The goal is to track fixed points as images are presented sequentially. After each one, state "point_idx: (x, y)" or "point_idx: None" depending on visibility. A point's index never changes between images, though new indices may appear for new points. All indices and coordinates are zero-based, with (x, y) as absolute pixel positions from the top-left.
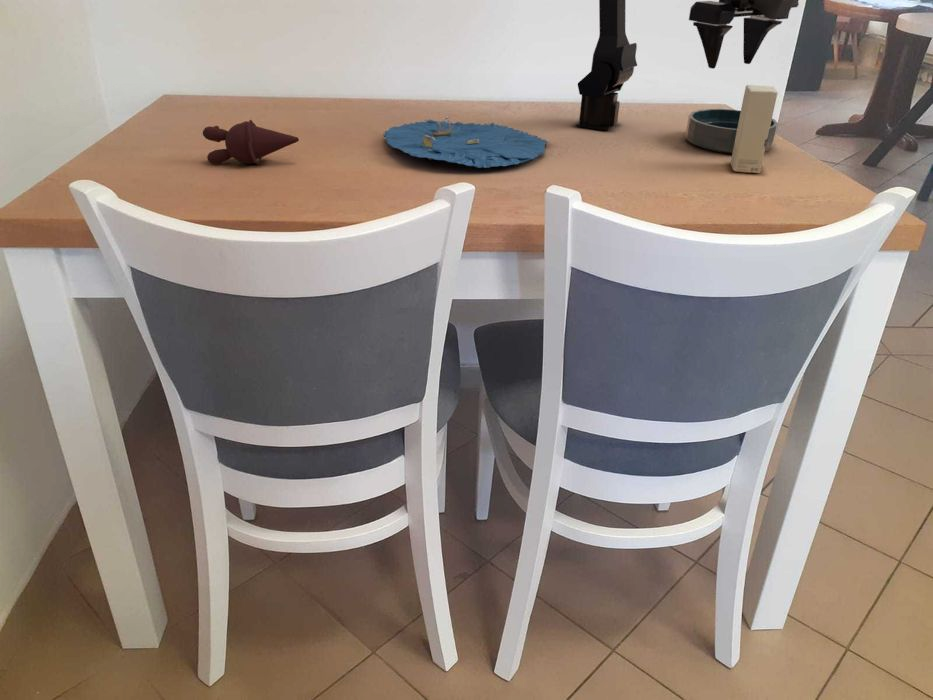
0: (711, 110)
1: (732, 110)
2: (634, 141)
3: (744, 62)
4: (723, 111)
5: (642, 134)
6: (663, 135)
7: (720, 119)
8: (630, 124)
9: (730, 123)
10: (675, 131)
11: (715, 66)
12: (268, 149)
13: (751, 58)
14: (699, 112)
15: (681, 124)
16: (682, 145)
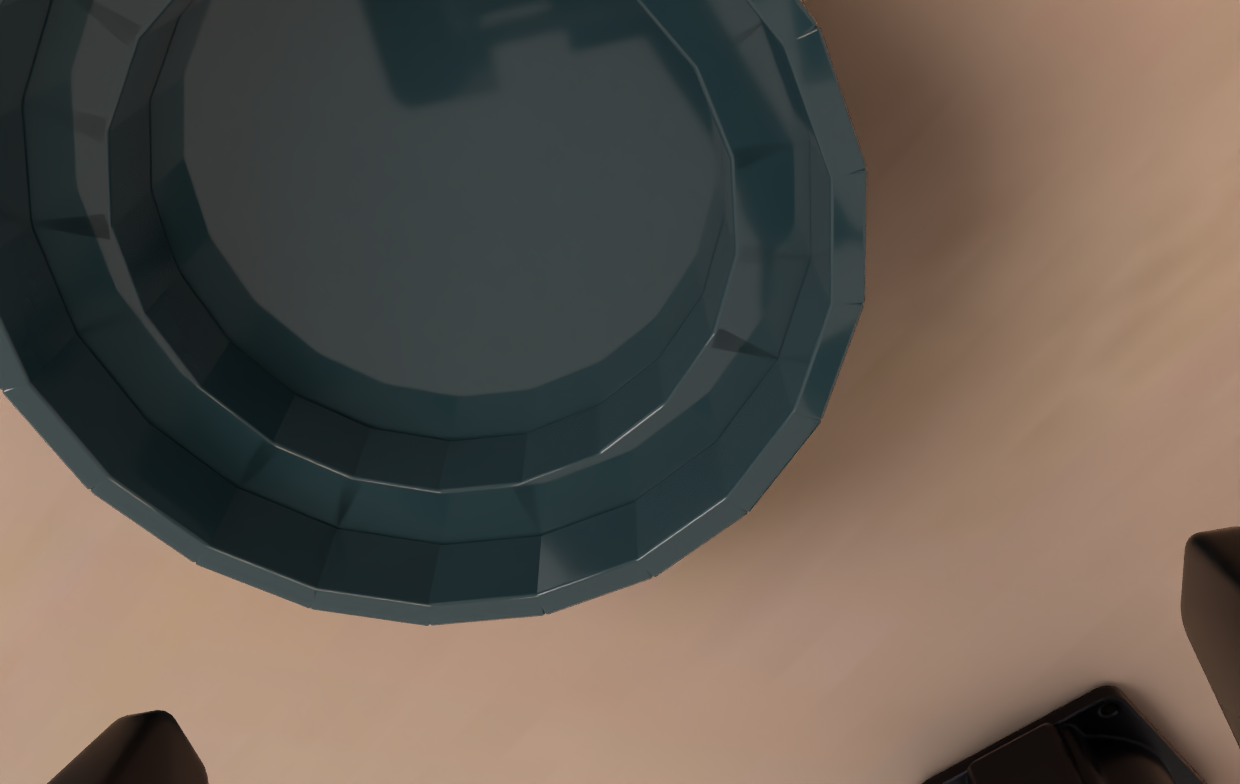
0: (411, 596)
1: (213, 545)
2: (1124, 456)
3: (206, 779)
4: (295, 566)
5: (927, 576)
6: (798, 522)
7: (324, 524)
8: (827, 764)
9: (275, 437)
10: None
11: (1211, 547)
12: None
13: (95, 778)
14: (554, 581)
15: (478, 695)
16: None
